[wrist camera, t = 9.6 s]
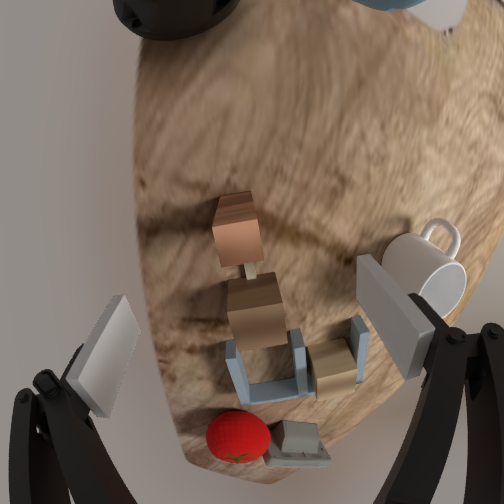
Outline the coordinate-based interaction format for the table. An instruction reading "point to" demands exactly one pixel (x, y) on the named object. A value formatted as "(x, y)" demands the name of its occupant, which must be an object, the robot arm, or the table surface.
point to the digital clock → (296, 446)
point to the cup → (427, 267)
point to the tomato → (237, 437)
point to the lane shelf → (302, 381)
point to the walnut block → (248, 276)
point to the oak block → (332, 369)
